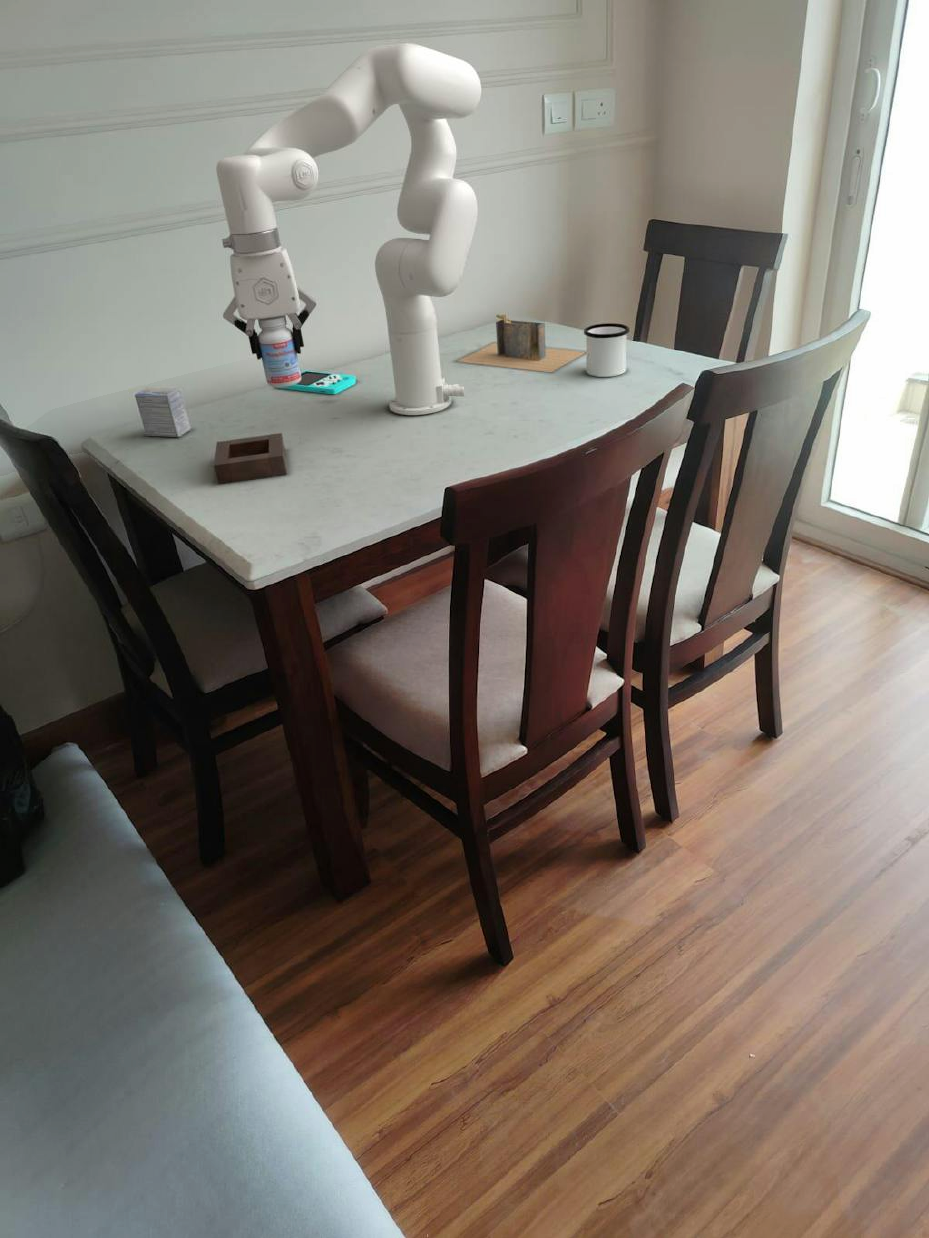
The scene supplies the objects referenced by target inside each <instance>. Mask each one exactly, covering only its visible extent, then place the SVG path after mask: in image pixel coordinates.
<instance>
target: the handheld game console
mask: <svg viewBox="0 0 929 1238" xmlns="http://www.w3.org/2000/svg"><path fill="white" fill-rule="evenodd" d="M300 373H301V381H300V382H299V383H297V384H295V385H291V386H287V387H278V389H281V390H291V391H300V392H309V393H315V394H316V393H317V394H318V393H319V394H326V395H327V394H328V395H337V394H339V393H340V392H343V391H345V390H346V389H349V388H350V387H353V386H354V385H355V384H356V382H357V381H356V376H355V375H353V374H343V373H333V372H332V373H331V372H324V371H313V370H302V371H300Z"/></svg>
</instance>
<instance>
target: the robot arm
mask: <svg viewBox="0 0 929 1238" xmlns="http://www.w3.org/2000/svg"><path fill="white" fill-rule="evenodd" d="M481 97H482V83H481V79H480V77H479V75H478V73H477V70H475V68H474V67H473V66H472V65H471V64H470V63H468V62H467V61H466V60H463V59H461V58H457V57H455V56H452V55H450V54H446V53H443V52H441V51H438V50H435V49H432V48H429V47H426V46H423V45H420V44H418V43H417V44H416V43H411V42H404V43H403V42H402V43H393V44H385V45H377V46H373V47H371V48H369V49H367V50H365V51H364V52H363V53H361V54H360V55H359V56H358V57H357V58H356V59H355V60H354V61H353V62H352V63H351V64H350V65H349V66H348V67H347V68H346V69H345V70H344V71H343V72H342V73H340V75H338V77H337V78H335V80H334V81H333V82H332V83H331V84H330V85H329V86H328V87H327V88H325V90H324V91H322V93H321V94H319V95H318V96H317V97H315V98H313V99H312V100H309V101H308V102H306V103H305V104H303V105H302V106H300V107H299V108H297V109H295V110H294V111H292V112H291V113H289V114H288V115H286V116H284V117H283V118H281V119H280V120H278V121H277V122H275V123H274V124H273V125H271V126H270V127H269V128H267V129H266V130H265V132H263V133H262V134H261V135H260V136H259V137H258V138H257V139H256V140H255V141H254V142H253V143H252V144H251V145H250V146H249V147H248V148H247V150H246V151H245V152H244V154H241V155H232V156H228V157H224V158H221V159H220V160H219V161H217V164H216V170H215V171H216V176H217V180H218V186H219V189H220V190H219V191H220V195H221V199H222V203H223V208H224V213H225V217H226V221H227V226H228V230H229V235H228V237H226V238H221V242H222V246H223V249H226V248H228V249H231V250H233V253H231V255H230V256H229V264H230V274H231V282H232V287H233V293H234V296H233V298H232V299H231V300H230V302H229V304H228V305H227V307H226V308H225V310H224V312H223V314H222V317H223V319H225V321H227V322H229V323H230V324H232V325H233V326H234V327H235V328H236V329H238V330H240V331H241V332H242V333H243V334H245V335H246V337H248V341H249V345H250V350H251V354H252V355H256V359H257V361H258V360H262V357H261V352H260V347H259V343H258V335H259V334H258V332H256V329H255V324H256V321H258V319H264V318H272V317H279V316H287V317H288V318H289V321H290V322H291V324H292V327H291V331H292V332H293V336H294V342H295V347H296V352H297V355H300V354H302V350H301V348H304V347H305V343H304V338H303V333H302V328H303V326H304V324H305V323H306V321H307V320H308V318H309V316H310V315H311V313H313V311H314V309H315V308H316V306H317V301H316V299H314V298H313V297H312V296H310V295H309V294H308V293H306V292H305V291H304V290H302V289H301V288H300V287H298V286H297V285H298V284H297V281H296V276H295V273H294V269H293V265H292V262H291V259H290V256H289V254H288V253H289V252H288V251H287V249H286V247H284V246H282V245H281V240H280V235H279V230H278V223H277V219H276V213H275V207H274V203H275V202H289V201H290V202H291V201H293V202H294V201H300V200H304V199H306V198H308V197H309V196H310V195H311V194H313V192H314V191H315V189H316V187H317V186H318V183H319V175H320V174H319V168H318V165H317V163H316V161H315V159H314V158H316V157H319V156H322V155H325V154H329V153H332V152H336V151H339V150H341V149H343V148H346V147H347V146H350V145H352V144H353V143H355V142H357V141H358V139H359V138H360V137H361V136H363V134H364V133H366V131H367V130H368V129H369V127H371V126H372V124H374V123H375V122H376V121H377V120H378V119H379V118H380V117H381V116H382V115H383V114H384V112H386V111H387V110H388V109H389V108H390V107H391V106H394V105H398V106H399V108H400V111H401V113H402V115H403V118H404V120H405V122H406V124H407V128H408V131H409V135H410V142H411V143H410V144H411V146H410V154H409V158H408V162H407V166H406V171H405V174H404V179H403V182H402V186H401V190H400V194H399V198H398V201H397V207H396V209H397V210H396V211H397V212H396V214H397V220H398V223H399V224H400V226H401V227H402V228H403V229H404V230H406V231H408V232H410V233H414V234H419V235H426V236H427V235H428V236H429V238H428V239H422V238H413V237H412V238H411V237H397V238H391V239H389V240H388V241H386V242H384V243H383V244H382V245H381V246H380V247H379V249H378V250H377V252H376V256H375V259H374V271H375V277H376V280H377V284H378V286H379V289H380V292H381V297H382V300H383V304H384V310H385V318H386V324H387V325H386V326H387V334H388V341H389V350H390V357H391V358H390V359H391V367H392V376H393V384H394V393H395V396H394V397H392V398H391V399H390V400H389V402H388V405H389V409H390V411H391V412H393V413H395V414H398V415H402V416H423V415H429V414H434V413H438V412H441V411H443V410H446V409H447V408H448V407H450V406H451V404H452V397H465V393H466V391H465V390H466V389H465V386H460V383H456V384H455V383H454V384H448V383H446V381H445V377H442V371H441V369H442V368H441V360H440V359H441V358H440V348H439V347H440V346H439V338H438V337H439V335H438V327H437V326H438V322H437V316H436V315H437V314H436V309H435V307H434V304H433V301H432V299H431V297H433V298H443V297H447V296H449V295H451V294H452V293H453V292H454V291H455V290H456V289H457V287H458V285H459V283H460V281H461V279H462V277H463V273H464V270H465V267H466V263H467V260H468V256H469V252H470V249H471V245H472V241H473V238H474V234H475V230H476V226H477V222H478V214H479V209H478V208H479V207H478V201H477V196H476V194H475V193H476V192H475V191H474V189H473V187H472V186H471V185H470V184H469V183H467V182H466V181H464V180H462V179H460V178H454V173H455V169H456V165H457V159H458V158H457V156H458V150H457V145H456V140H455V137H454V135H453V133H452V130H451V127H450V125H449V123H448V121H447V120H453V119H454V120H457V119H463V118H466V117H469V116H470V115H472V114H473V113H474V112H475V110H476V109H477V108H478V106H479V105H480V102H481ZM301 301H302V302H303V303H304V304H305V305H304V307H303V309H302V310H301V311H300V312H299V310H300V308H301ZM236 311H237V312H238V315H239V317H238V316H236V315H235V312H236ZM298 312H299V314H297V313H298ZM244 320H245V321H246V322H245V321H244Z"/></svg>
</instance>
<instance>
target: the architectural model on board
mask: <svg viewBox="0 0 929 1238" xmlns="http://www.w3.org/2000/svg"><path fill="white" fill-rule="evenodd" d="M495 317H496V318H498V319H500V320H497V321H496V322H495V331H496V342H494V343H492V344H489V345H487V346H486V347H483V348H481V349H478V350H477V351H475V352H473V353H470V354H469V355H467V356H465V357H463V358H461V359H458V360H457V362H458V363H467V364H474V365H475V364H477V365H483V366H484V365H485V366H493V367H500V368H501V367H502V368H508V369H519V370H526V371H527V370H528V371H534V372H535V371H536V372H544V373H553V372H555V371H557V370H558V369H560V368H561V367H563V366H565V365H567V364H569V363H570V362H572V361H574V360H575V359H577V358H579V357H581V356H583V355H584V354H587V351H580V350H569V349H559V348H550V347H546V324H545V322H537V321H525V320H515V319H509V318H507V316H506V314H504V313H501V314H499V313H495Z"/></svg>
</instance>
